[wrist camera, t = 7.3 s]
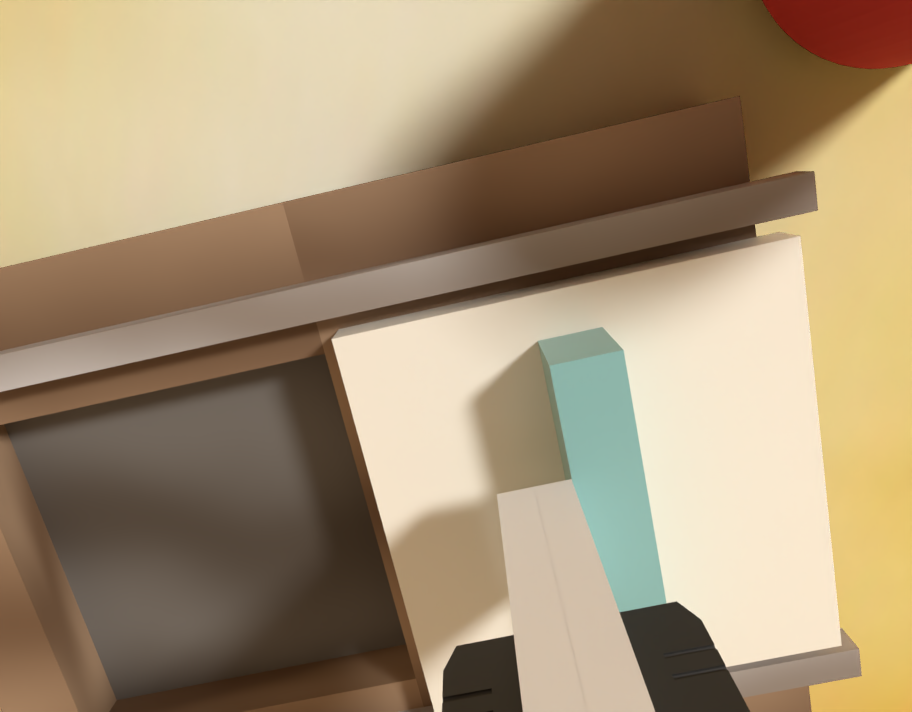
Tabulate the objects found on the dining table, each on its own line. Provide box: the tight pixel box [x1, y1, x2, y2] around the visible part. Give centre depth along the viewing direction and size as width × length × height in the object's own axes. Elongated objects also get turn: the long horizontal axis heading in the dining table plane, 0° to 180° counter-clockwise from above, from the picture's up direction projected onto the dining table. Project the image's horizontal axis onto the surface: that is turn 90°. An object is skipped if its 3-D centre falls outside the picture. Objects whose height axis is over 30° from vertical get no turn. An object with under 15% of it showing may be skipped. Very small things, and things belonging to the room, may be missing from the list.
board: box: [0, 96, 862, 712], centre depth 18 cm, size 16×22×3 cm
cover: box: [332, 232, 842, 712], centre depth 16 cm, size 10×10×3 cm
